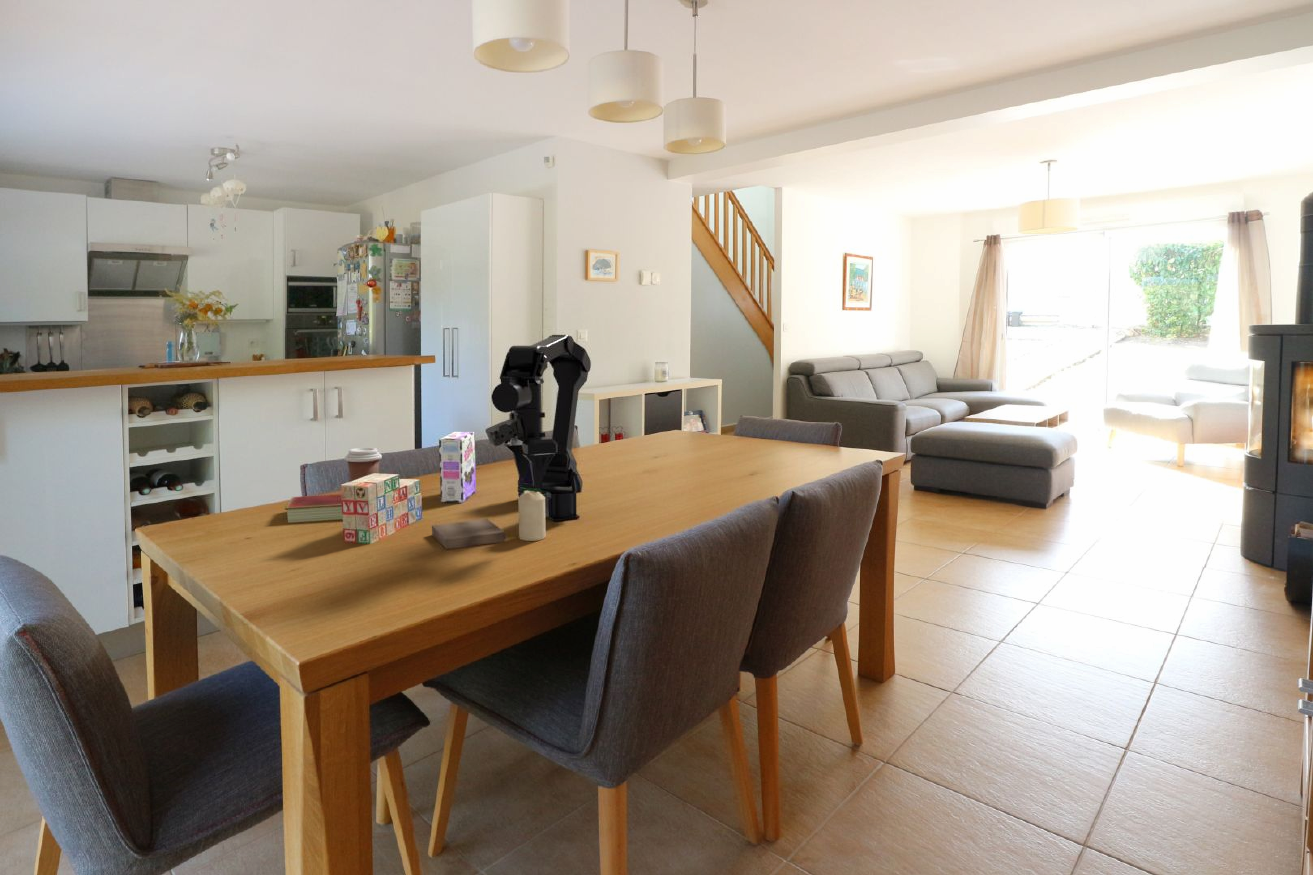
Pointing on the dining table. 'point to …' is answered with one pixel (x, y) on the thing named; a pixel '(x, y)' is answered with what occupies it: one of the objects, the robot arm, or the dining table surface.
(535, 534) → the candle
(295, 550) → the dining table surface
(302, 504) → the hardcover book
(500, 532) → the grey square slab
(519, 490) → the storage jar
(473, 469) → the candy box
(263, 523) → the dining table surface
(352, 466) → the coffee cup
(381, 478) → the stack of blocks
